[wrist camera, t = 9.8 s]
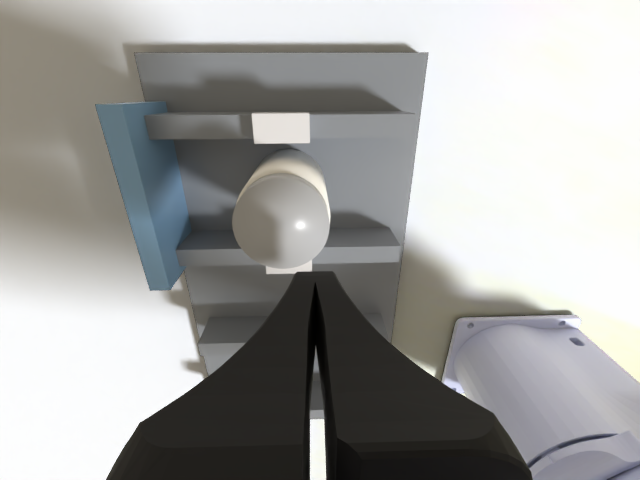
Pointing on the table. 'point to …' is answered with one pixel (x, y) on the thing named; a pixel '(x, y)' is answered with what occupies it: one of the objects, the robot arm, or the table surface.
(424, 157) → the table surface
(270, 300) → the grey slotted rack
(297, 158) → the cream rounded cylinder
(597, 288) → the table surface
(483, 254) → the table surface
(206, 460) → the robot arm
